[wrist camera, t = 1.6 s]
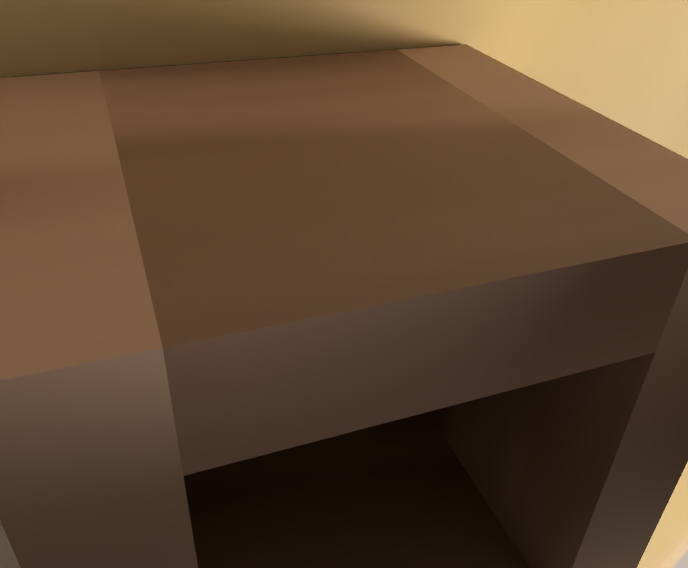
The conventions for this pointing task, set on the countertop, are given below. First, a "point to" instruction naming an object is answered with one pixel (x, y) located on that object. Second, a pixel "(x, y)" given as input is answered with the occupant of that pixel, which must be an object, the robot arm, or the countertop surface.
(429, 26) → the countertop surface
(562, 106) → the walnut sleeve
